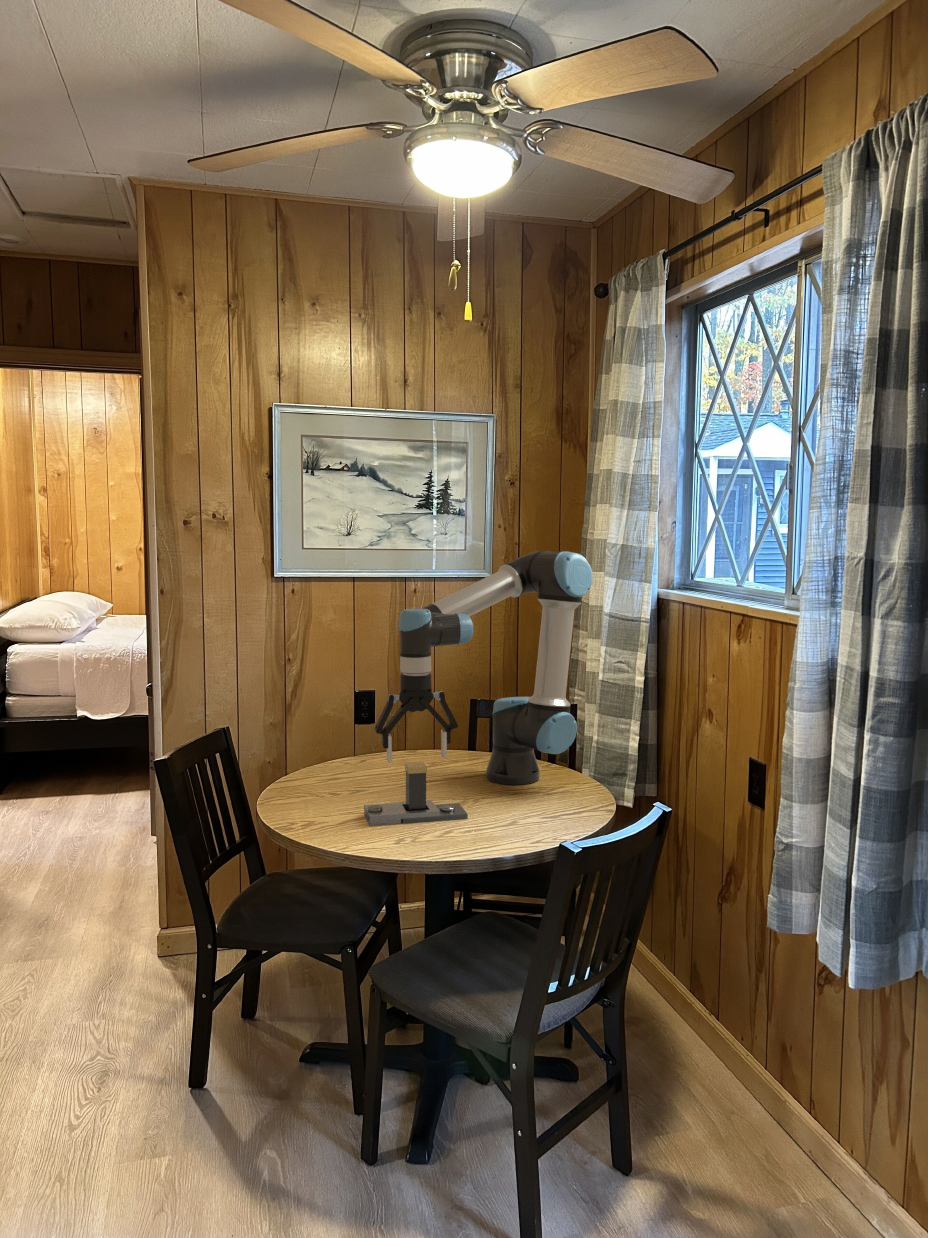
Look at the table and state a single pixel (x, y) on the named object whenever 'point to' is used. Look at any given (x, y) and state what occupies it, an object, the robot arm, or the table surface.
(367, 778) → the table surface
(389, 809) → the plate
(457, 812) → the plate
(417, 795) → the link pin
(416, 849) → the table surface
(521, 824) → the table surface
